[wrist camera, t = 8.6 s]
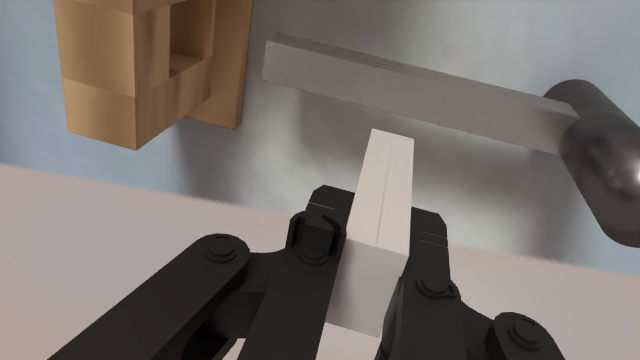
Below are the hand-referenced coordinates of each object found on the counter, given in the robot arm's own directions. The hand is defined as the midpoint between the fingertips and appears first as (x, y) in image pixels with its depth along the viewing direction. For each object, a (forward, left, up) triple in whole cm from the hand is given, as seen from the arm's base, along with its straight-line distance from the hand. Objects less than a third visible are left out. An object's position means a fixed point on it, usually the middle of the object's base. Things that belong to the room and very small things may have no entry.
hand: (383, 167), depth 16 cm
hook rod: (+2, 0, -15) cm, 15 cm away
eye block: (-15, 0, -15) cm, 21 cm away
